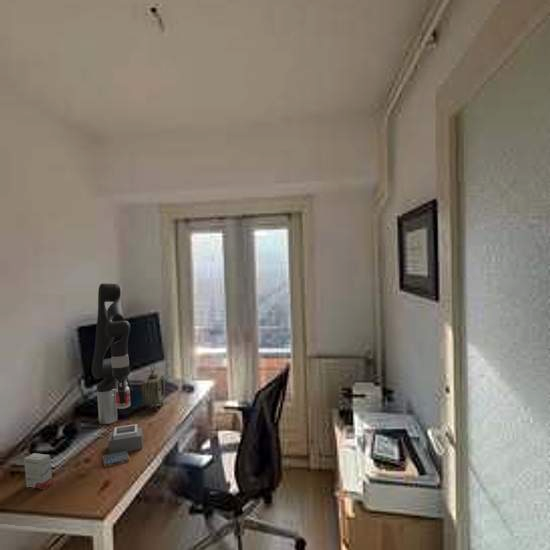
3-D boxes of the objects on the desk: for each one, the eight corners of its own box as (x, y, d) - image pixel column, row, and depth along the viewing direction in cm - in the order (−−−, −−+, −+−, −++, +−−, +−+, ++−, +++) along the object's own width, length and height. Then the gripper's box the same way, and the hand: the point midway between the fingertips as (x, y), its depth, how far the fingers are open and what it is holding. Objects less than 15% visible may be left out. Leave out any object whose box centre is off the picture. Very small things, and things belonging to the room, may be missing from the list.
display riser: (111, 444, 202) (110, 428, 202) (142, 439, 206) (141, 423, 206) (109, 454, 193) (108, 436, 192) (142, 448, 197) (141, 431, 196)
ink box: (53, 483, 170) (50, 454, 169) (43, 490, 165) (40, 460, 165) (36, 481, 173) (34, 452, 172) (25, 487, 168) (23, 457, 167)
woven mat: (104, 469, 180) (104, 464, 180) (102, 459, 190) (101, 454, 189) (130, 462, 185) (130, 458, 185) (126, 453, 194) (126, 448, 194)
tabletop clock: (159, 412, 241) (156, 368, 239) (142, 413, 241) (139, 368, 240) (166, 403, 255) (163, 361, 254) (150, 404, 255) (147, 362, 254)
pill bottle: (129, 408, 196) (128, 384, 195) (115, 409, 195) (113, 385, 194) (131, 403, 202) (129, 380, 201) (117, 405, 201) (115, 381, 200)
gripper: (128, 367, 191) (131, 405, 192) (129, 360, 205) (132, 395, 206) (110, 370, 189) (113, 407, 190) (113, 362, 203) (115, 397, 204)
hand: (123, 400), depth 198 cm, fingers closed on pill bottle, 6 cm apart
